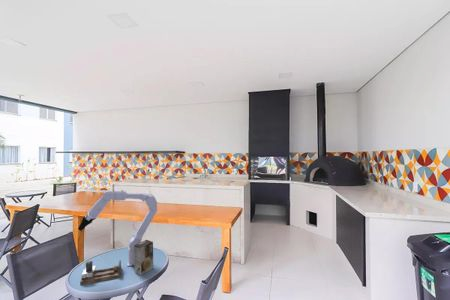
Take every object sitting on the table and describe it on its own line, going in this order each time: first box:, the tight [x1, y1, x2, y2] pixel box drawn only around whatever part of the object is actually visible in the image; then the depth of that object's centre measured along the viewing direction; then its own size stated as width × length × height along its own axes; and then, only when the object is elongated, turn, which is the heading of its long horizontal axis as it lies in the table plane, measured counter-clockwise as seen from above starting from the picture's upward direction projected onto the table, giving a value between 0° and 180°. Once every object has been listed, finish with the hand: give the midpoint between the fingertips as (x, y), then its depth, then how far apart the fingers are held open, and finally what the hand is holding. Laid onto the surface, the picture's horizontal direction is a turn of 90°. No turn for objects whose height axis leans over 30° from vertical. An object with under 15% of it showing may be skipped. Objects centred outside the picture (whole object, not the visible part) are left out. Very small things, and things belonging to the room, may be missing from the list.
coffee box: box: [134, 239, 154, 276], centre depth 128 cm, size 9×6×16 cm
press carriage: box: [81, 260, 97, 278], centre depth 120 cm, size 5×8×6 cm, turn 20°
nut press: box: [79, 259, 122, 286], centre depth 122 cm, size 19×10×6 cm, turn 110°
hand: (81, 228), depth 126 cm, fingers open, 7 cm apart
